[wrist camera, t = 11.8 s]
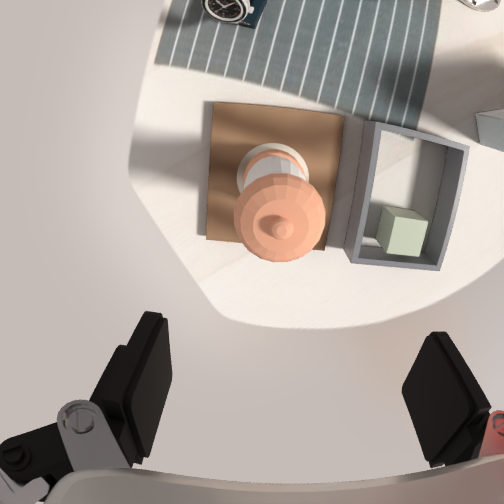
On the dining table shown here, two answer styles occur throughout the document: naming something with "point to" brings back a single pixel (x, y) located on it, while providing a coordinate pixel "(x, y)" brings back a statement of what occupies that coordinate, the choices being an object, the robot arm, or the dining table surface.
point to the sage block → (401, 231)
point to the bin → (443, 211)
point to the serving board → (263, 138)
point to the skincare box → (491, 128)
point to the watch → (235, 11)
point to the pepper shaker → (278, 208)
